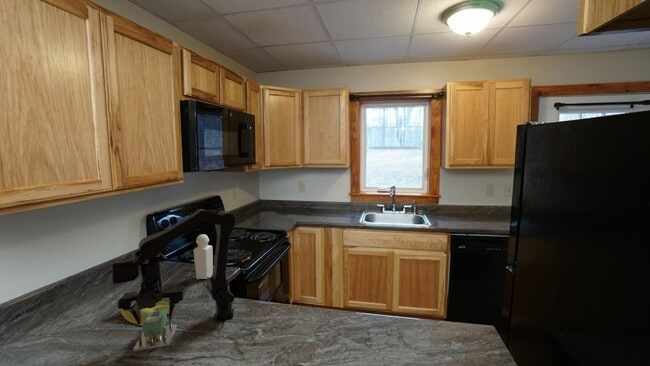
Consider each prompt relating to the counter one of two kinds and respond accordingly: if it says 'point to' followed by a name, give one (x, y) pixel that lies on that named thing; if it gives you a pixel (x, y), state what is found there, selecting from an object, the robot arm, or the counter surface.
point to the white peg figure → (203, 257)
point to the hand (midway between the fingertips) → (155, 321)
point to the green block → (155, 322)
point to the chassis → (155, 338)
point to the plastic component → (145, 312)
